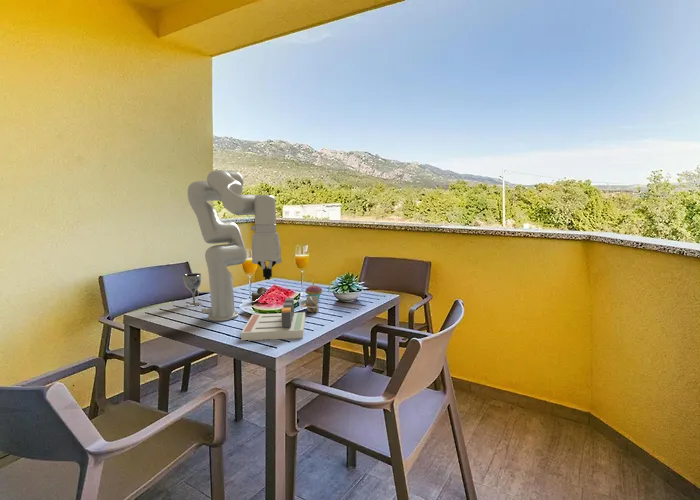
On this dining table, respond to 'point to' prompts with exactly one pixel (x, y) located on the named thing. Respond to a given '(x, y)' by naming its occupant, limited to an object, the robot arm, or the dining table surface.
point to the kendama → (258, 293)
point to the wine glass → (192, 284)
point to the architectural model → (312, 304)
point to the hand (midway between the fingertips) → (267, 278)
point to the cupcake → (314, 290)
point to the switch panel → (274, 325)
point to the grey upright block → (286, 317)
